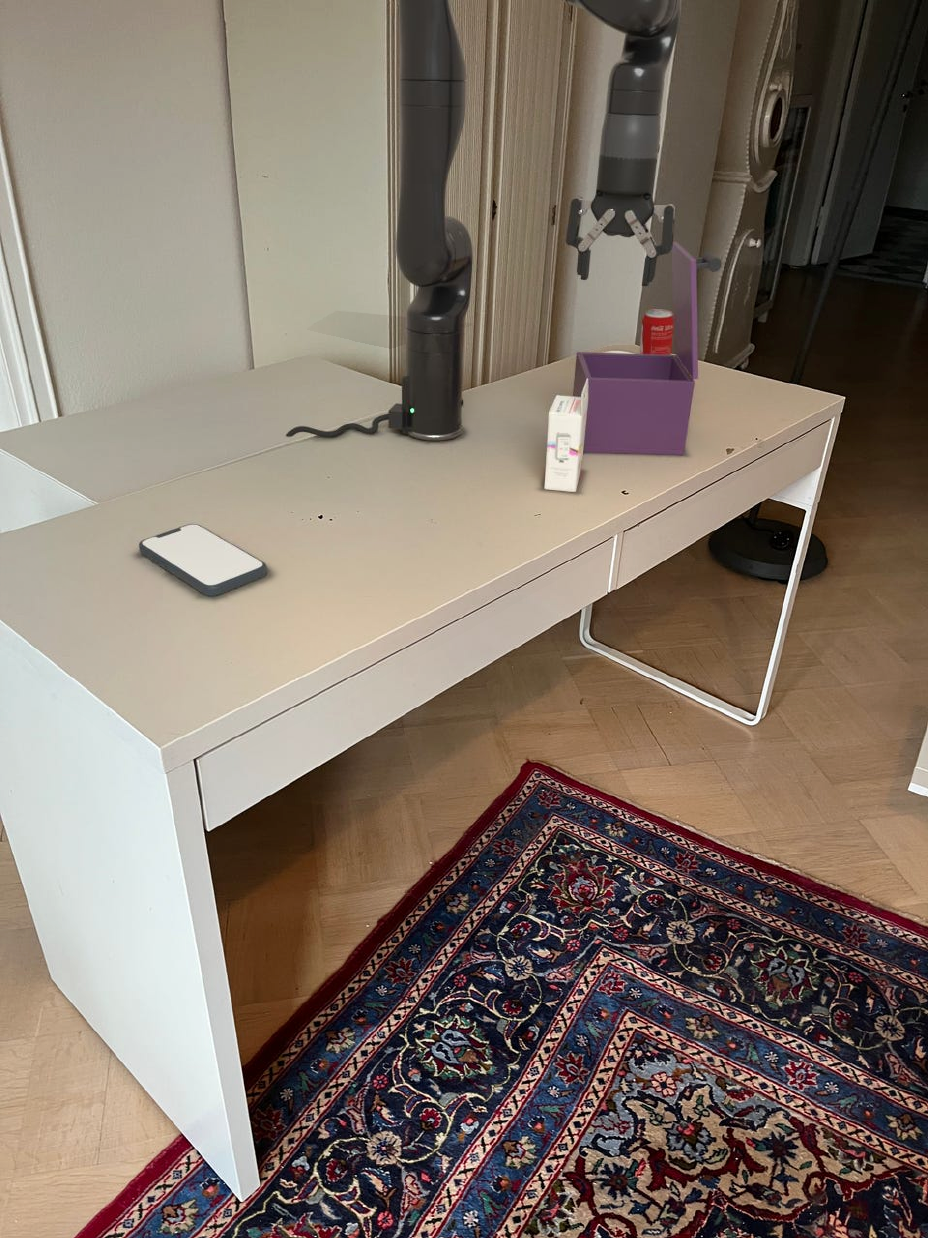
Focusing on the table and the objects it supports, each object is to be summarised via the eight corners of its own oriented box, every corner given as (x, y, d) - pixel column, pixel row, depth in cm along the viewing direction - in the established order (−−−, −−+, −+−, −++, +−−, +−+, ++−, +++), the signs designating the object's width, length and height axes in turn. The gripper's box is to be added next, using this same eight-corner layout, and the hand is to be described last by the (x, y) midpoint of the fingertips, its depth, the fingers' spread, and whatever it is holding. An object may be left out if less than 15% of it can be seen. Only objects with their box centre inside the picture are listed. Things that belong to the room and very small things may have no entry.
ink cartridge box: (549, 468, 147) (557, 373, 139) (581, 471, 146) (591, 376, 139) (542, 489, 140) (549, 391, 132) (576, 493, 139) (585, 394, 131)
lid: (690, 260, 138) (729, 254, 138) (671, 242, 151) (707, 236, 151) (692, 379, 147) (729, 374, 147) (674, 352, 160) (708, 347, 160)
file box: (579, 452, 153) (586, 378, 147) (570, 420, 166) (576, 351, 160) (683, 455, 154) (695, 382, 147) (666, 422, 167) (676, 354, 161)
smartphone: (272, 576, 115) (197, 531, 125) (271, 564, 115) (195, 520, 124) (209, 601, 110) (135, 553, 119) (208, 589, 109) (133, 541, 118)
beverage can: (671, 391, 182) (682, 310, 175) (658, 399, 178) (669, 317, 170) (642, 385, 185) (652, 305, 177) (628, 393, 180) (638, 312, 173)
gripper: (569, 151, 123) (558, 282, 131) (680, 158, 120) (662, 292, 128) (580, 147, 129) (570, 272, 138) (687, 153, 126) (669, 281, 134)
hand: (614, 281), depth 133 cm, fingers open, 8 cm apart
